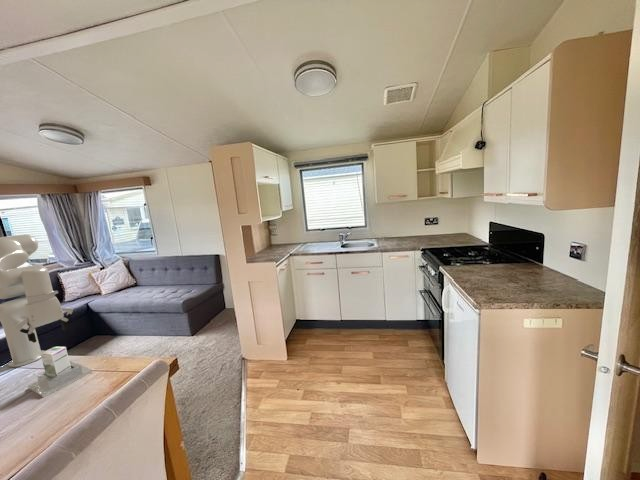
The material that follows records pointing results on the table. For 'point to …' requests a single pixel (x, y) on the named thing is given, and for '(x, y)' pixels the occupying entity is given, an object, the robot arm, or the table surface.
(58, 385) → the square socket
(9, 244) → the robot arm
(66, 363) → the syrup box
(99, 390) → the table surface
